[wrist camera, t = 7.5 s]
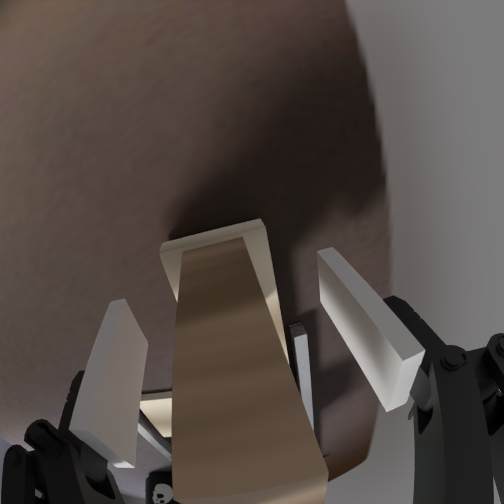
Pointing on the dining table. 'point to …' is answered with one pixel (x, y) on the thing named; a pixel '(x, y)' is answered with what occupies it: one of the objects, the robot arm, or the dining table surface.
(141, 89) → the dining table surface
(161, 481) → the beverage can
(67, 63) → the dining table surface
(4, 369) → the dining table surface
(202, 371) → the strip long
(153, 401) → the cream flat tile
